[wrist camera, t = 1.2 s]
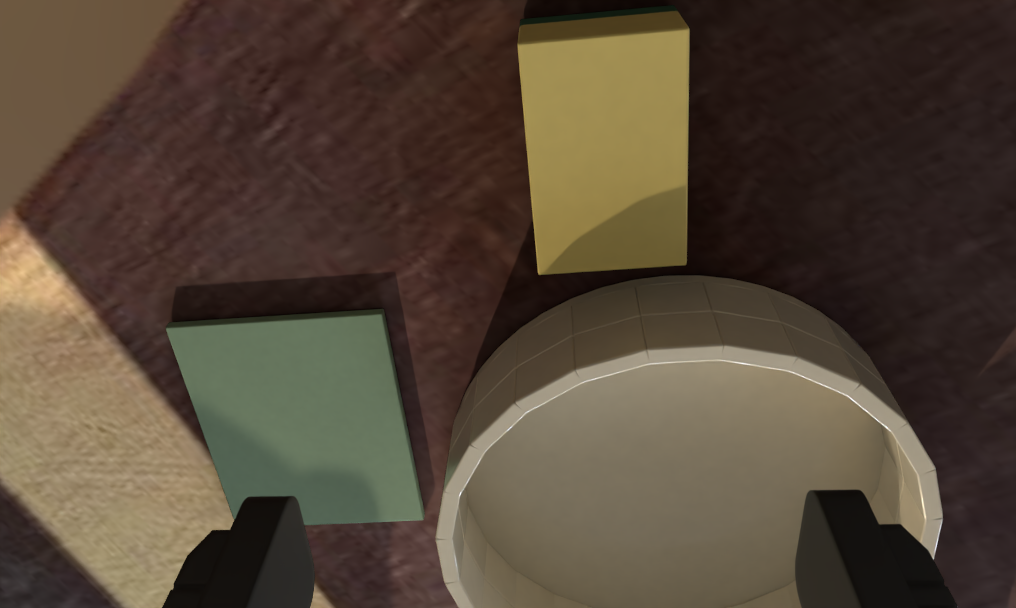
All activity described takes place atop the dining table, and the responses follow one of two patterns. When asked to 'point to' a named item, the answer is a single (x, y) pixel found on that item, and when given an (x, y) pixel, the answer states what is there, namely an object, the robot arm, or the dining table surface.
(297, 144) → the dining table surface
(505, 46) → the dining table surface
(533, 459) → the wash bowl
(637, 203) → the sponge
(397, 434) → the mat
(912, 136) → the dining table surface
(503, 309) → the dining table surface
